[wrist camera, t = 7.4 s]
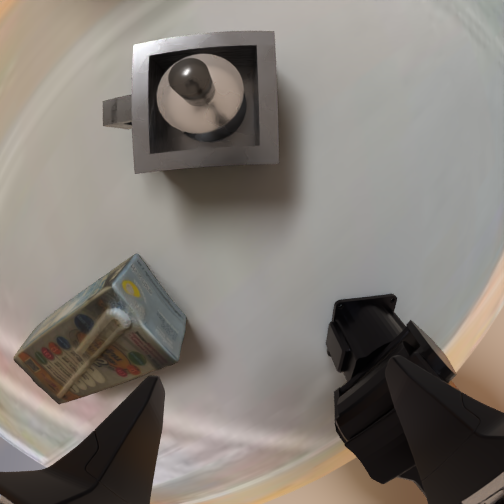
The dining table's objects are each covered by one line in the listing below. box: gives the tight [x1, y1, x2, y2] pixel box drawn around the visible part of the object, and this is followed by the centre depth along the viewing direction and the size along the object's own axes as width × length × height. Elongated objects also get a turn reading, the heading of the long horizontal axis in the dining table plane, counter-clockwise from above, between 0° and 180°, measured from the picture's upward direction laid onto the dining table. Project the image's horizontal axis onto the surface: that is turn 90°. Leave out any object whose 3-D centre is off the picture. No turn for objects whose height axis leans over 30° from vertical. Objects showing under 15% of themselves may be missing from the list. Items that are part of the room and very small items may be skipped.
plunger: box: [157, 54, 247, 142], centre depth 13 cm, size 5×5×9 cm
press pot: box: [103, 31, 279, 174], centre depth 15 cm, size 10×8×5 cm
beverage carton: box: [14, 254, 187, 404], centre depth 21 cm, size 8×19×7 cm, turn 119°
